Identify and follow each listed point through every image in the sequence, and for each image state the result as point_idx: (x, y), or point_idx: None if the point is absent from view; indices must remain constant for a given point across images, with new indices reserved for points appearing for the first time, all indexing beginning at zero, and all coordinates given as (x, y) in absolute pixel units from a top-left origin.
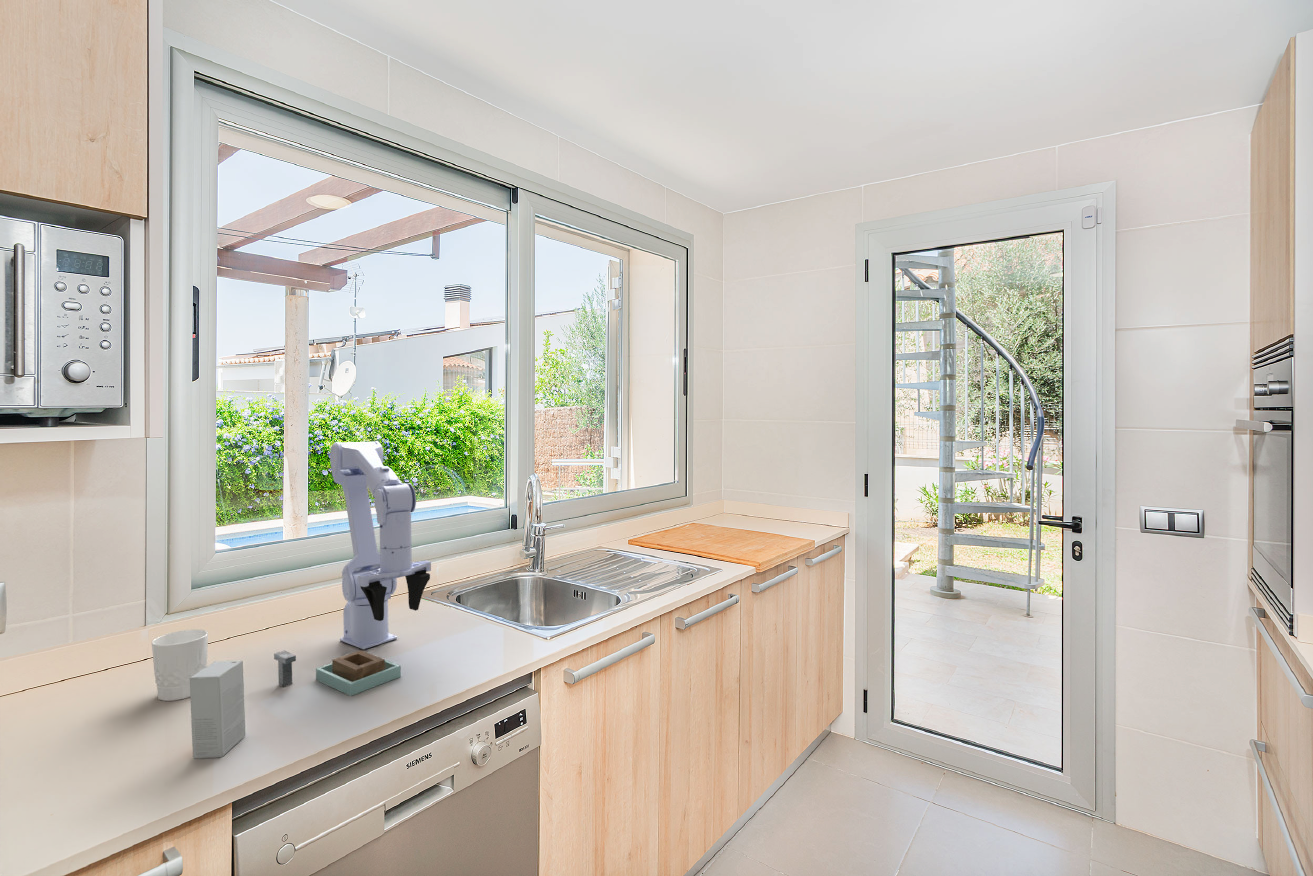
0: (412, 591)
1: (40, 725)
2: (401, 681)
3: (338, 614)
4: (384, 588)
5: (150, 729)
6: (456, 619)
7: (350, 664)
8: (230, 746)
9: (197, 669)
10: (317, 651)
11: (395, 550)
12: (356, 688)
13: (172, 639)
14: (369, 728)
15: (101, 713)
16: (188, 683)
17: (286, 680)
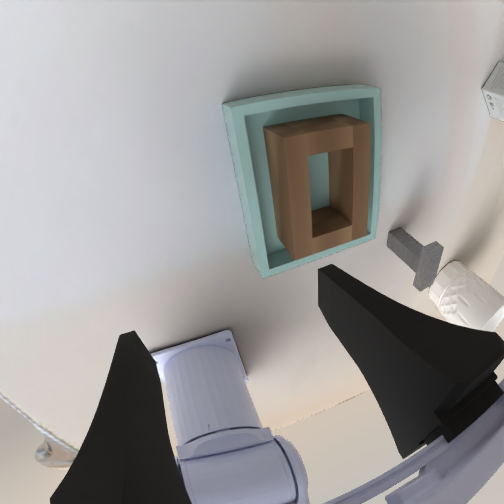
0: (155, 436)
1: (494, 264)
2: (234, 69)
3: None
4: (471, 370)
5: (493, 197)
6: (22, 384)
7: (361, 172)
8: (497, 69)
9: (468, 285)
10: (293, 350)
11: None
12: (356, 86)
13: None
14: None
15: (480, 265)
16: (463, 272)
17: (402, 234)
